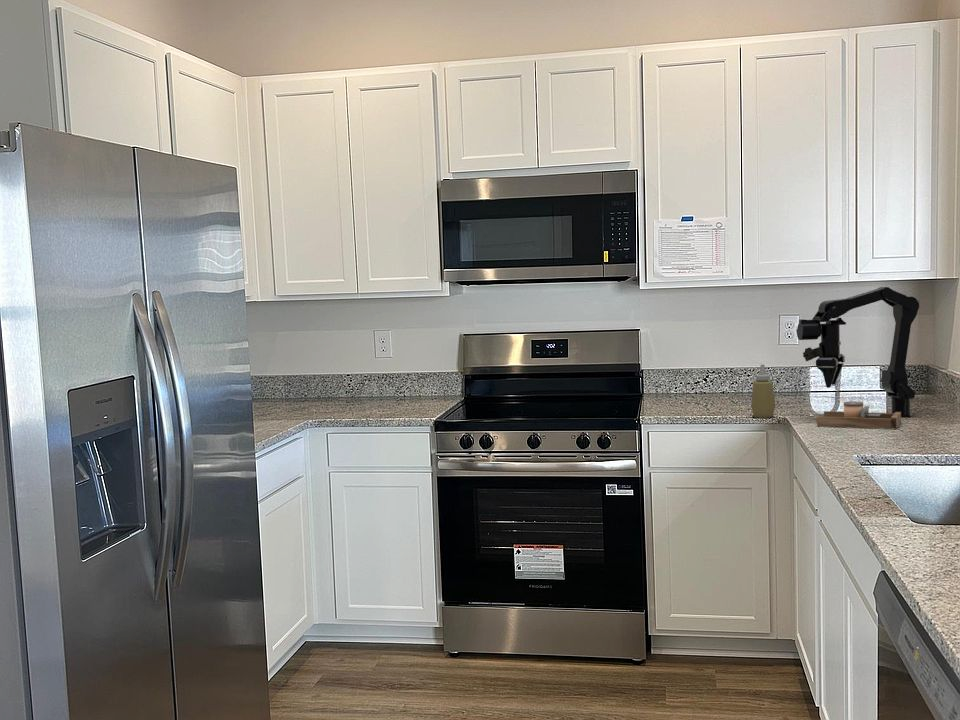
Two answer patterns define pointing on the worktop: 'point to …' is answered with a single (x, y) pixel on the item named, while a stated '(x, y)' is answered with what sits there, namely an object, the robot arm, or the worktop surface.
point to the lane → (859, 420)
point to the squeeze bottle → (763, 395)
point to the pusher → (866, 413)
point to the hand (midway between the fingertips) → (830, 386)
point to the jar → (853, 409)
